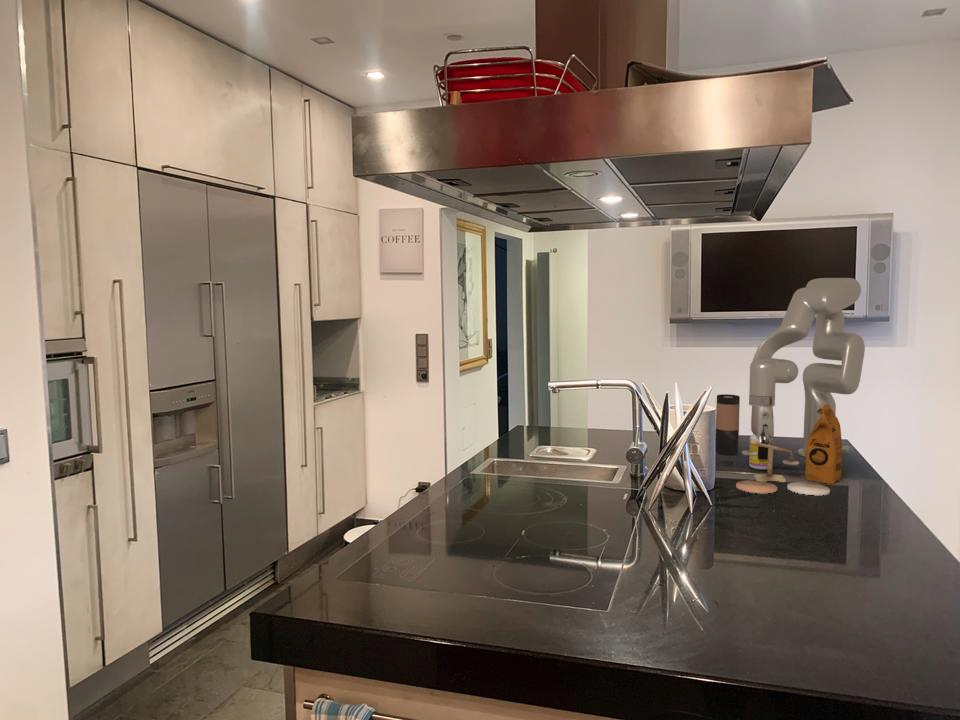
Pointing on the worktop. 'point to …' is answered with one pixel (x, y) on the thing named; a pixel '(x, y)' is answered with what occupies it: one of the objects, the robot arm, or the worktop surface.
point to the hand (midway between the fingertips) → (760, 455)
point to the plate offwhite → (808, 488)
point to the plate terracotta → (756, 487)
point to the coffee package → (824, 449)
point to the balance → (771, 461)
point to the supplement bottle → (754, 460)
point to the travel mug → (727, 424)
